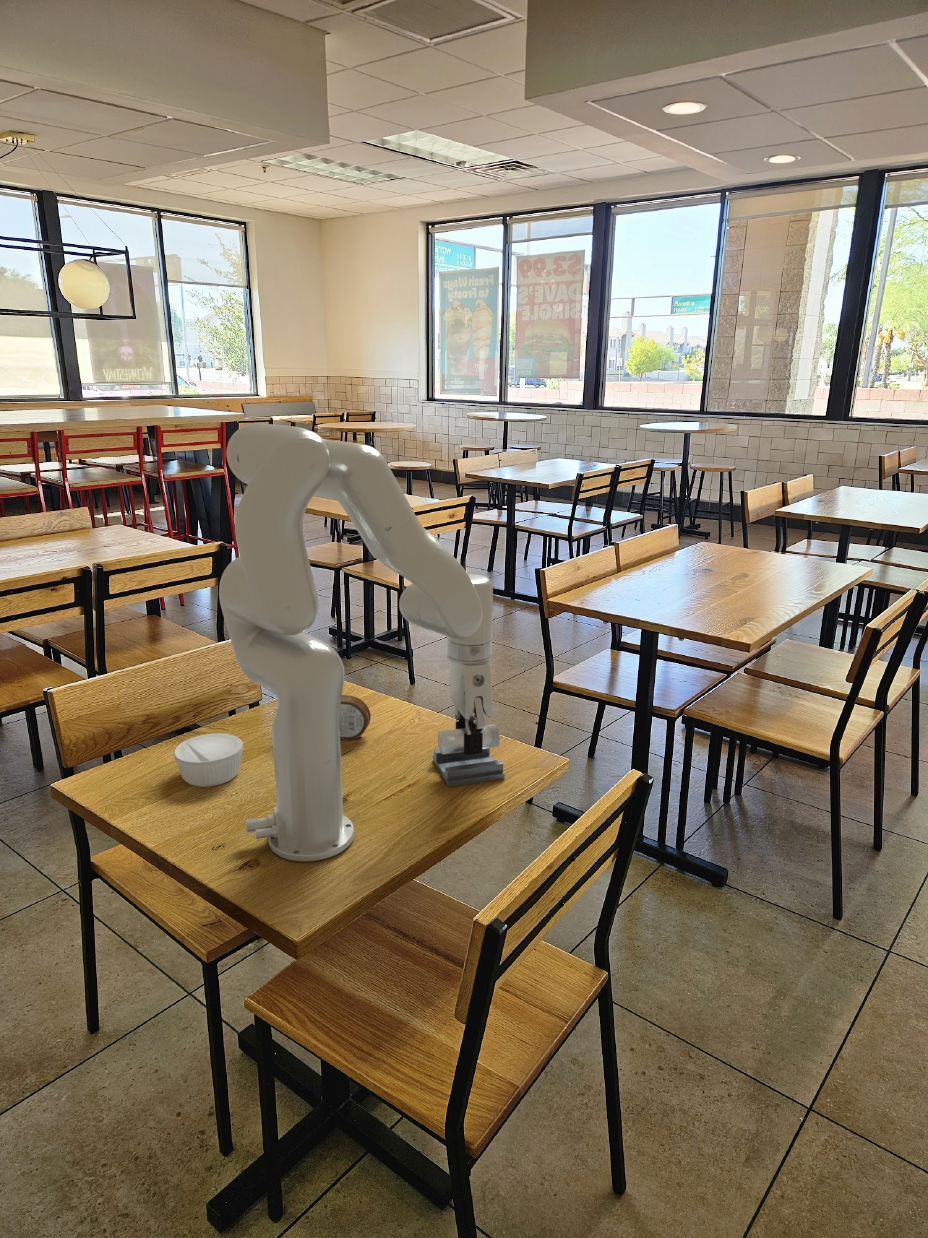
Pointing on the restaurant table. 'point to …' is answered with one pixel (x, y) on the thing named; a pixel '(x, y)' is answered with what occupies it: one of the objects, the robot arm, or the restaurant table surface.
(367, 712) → the tin
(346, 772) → the restaurant table surface
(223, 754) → the ramekin
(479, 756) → the v block
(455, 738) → the clear cylinder
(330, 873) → the restaurant table surface
